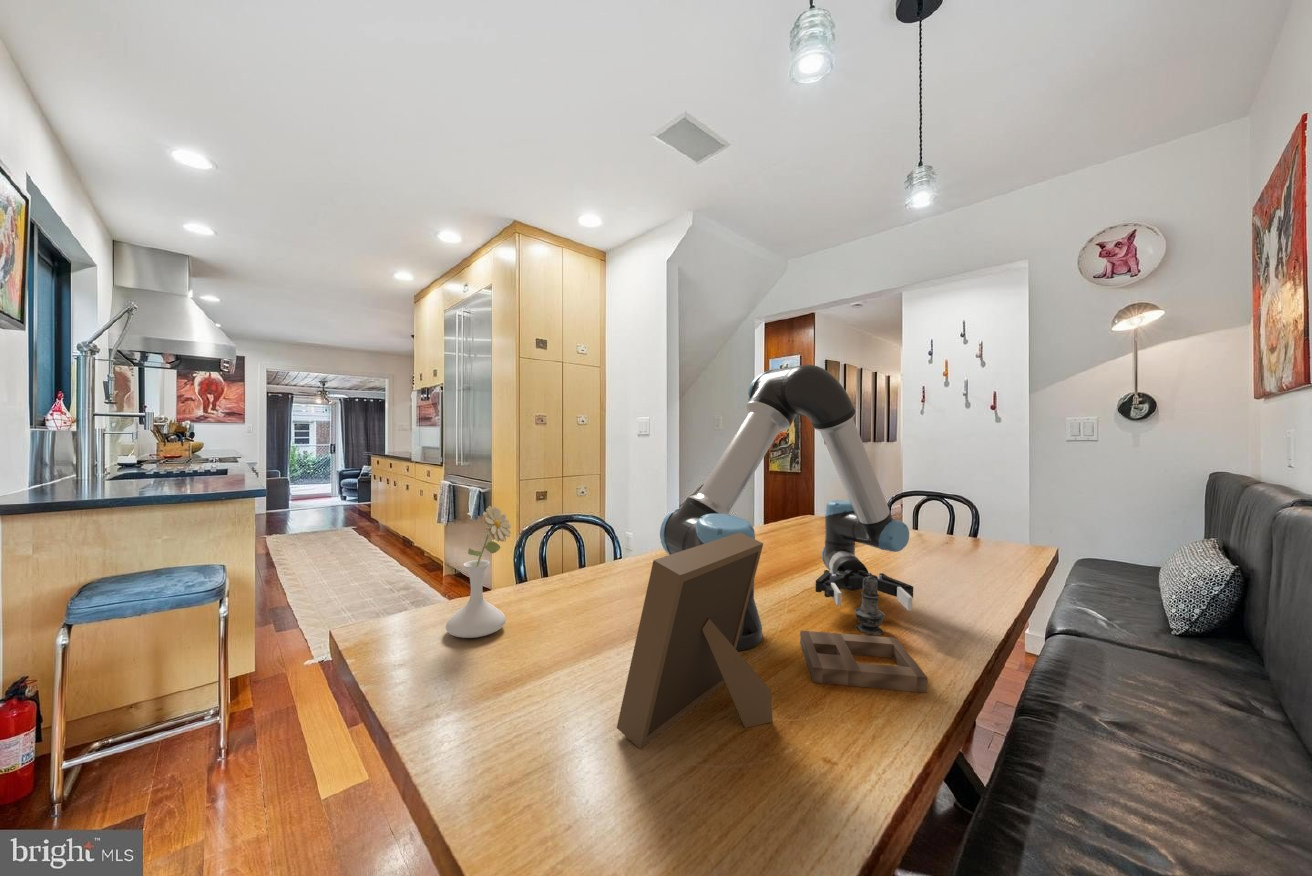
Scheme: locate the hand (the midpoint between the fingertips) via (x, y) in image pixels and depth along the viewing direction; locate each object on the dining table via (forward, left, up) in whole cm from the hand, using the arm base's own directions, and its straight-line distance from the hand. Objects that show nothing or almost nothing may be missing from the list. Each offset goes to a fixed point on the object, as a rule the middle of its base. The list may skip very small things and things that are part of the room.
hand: (874, 601), depth 97 cm
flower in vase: (-79, -12, -7) cm, 80 cm away
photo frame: (-32, -34, -7) cm, 47 cm away
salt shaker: (0, +3, -7) cm, 8 cm away
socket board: (-7, -13, -7) cm, 16 cm away
